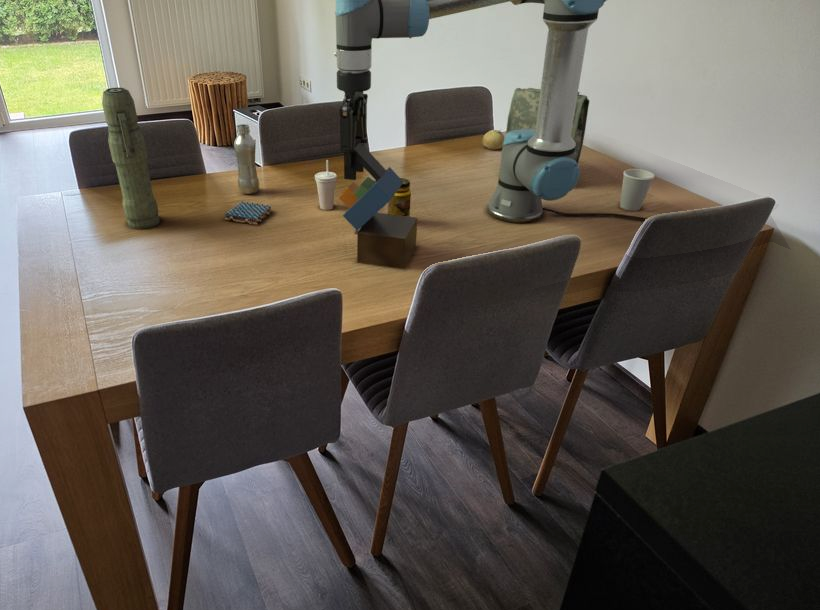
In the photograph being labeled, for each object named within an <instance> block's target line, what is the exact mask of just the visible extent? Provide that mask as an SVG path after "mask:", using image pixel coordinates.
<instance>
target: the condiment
mask: <svg viewBox="0 0 820 610" xmlns="http://www.w3.org/2000/svg"><path fill="white" fill-rule="evenodd" d="M400 179H401V180H402V181H403V184H402V185H401V186H400V188H399V189H398V191H397V192H396V193H395V195H394V196H393V197H392V199H391V200H390V201H389V202H388V203H387V204H388V205H387V211H388V212H387V214H392V215H400V216H408V217H411V216H410V215H411V199H412V198H411V196H412V191H411V181H410V180H409V179H407V178H405V177H400Z"/></svg>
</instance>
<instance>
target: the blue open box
mask: <svg viewBox="0 0 820 610" xmlns="http://www.w3.org/2000/svg"><path fill="white" fill-rule="evenodd" d="M362 144H363V143H362ZM362 144H361V143H359V144H358V145H357V146H356V147H355V151H356V160H357V161H358V162H359V163H360V164H361V165H362V166H363V169H365V170H366V172H367V173H368V174H369V175H370V176H371V177H372V178H373V180H374V181H375V182H376V184H375V185H374V186H373V187H372V188H371V189H370V190H368V191H367V192H366V193H365V194H364V195H363V196H362V197H361V198H360V199H359V200H358V201H357V202H356V203H355V204H354V205H353V206H352V207H351V208H347V210H346V211H345V212H344V213H343V215H342V217H343V218H344V220H346V221H347V222H348V223H349V224H350V226H352V228H354V229H355V230H358V231H359V230H360V228H361V227H362V226H363V225H364V224H365V223H366V222H367V221H368V220H369V219H371V218H372V217H373V216H374V215H375V214H376V213H379V211H380V210H382V209H383V208H384V207H385V206H386V205H387V204H388V202H389V201H390V200H391V199H392V197H393V196H394V195H395V193H396V192H397V191H398V189H399V188H400V186H401V185H402V184H403V181H402V180H401V179H400V178H401V177H400V176H399V175H398V174H397V173H396V172H395V171H394V170H393V169H392V167H390V166H389V167H387V169H386V168H385V167H384V166H383V165H382V164H381V163H380V162H379V161H378V159H376V158H375V156H374V155H373V154H372V153H371V152H370V151H369V150H368V148H366V147H365V146H363V145H362Z"/></svg>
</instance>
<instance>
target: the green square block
mask: <svg viewBox="0 0 820 610" xmlns="http://www.w3.org/2000/svg"><path fill="white" fill-rule="evenodd" d="M375 181H376V180H374V179H372V178H371V177H369V176H367V177H366V178H365V179H364V180H363V181H362V182H361V184H360V185H359V186H358V187H359V188H358V190H357V191H356V193H355V194H354V195H355V196H356V197H357V198H359V199H360V198H361V197H362V196H363V195H364V194H365V193H366V192H367V191H368V190H370V189H371V188H372V187H373V186H374V185H375V184H376V182H375Z"/></svg>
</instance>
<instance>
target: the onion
mask: <svg viewBox="0 0 820 610" xmlns="http://www.w3.org/2000/svg"><path fill="white" fill-rule="evenodd" d="M504 138H505V135H504V133H502V129H501V128H500V130H497V129H491V130H489V131H488V132H486V133H485V134H484V135H483V137H482V145H483V147H484V148H486V149H488V150H492V151H493V150H500V149H501V148H503V142H504Z"/></svg>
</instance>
